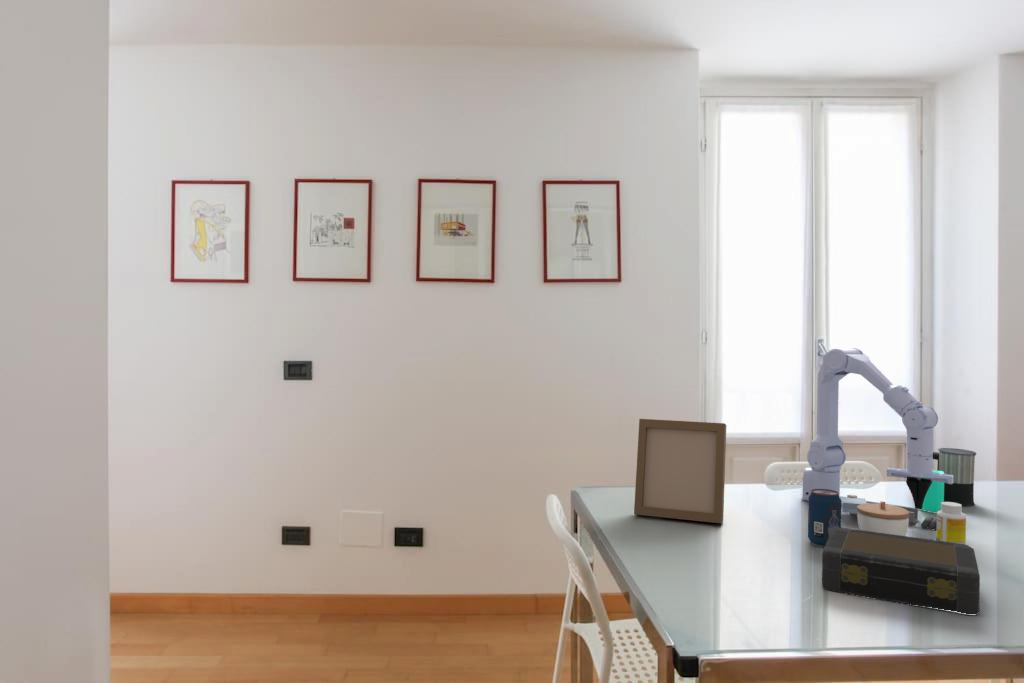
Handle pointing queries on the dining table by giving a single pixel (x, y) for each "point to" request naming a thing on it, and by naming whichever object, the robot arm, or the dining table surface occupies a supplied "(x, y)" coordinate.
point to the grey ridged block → (930, 522)
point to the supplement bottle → (951, 523)
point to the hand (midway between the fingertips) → (918, 508)
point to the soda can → (823, 515)
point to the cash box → (902, 569)
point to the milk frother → (957, 474)
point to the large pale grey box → (912, 511)
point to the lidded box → (851, 503)
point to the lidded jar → (883, 518)
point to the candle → (934, 496)
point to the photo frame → (681, 470)
